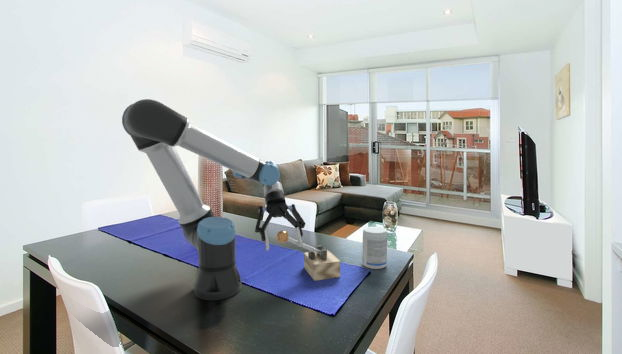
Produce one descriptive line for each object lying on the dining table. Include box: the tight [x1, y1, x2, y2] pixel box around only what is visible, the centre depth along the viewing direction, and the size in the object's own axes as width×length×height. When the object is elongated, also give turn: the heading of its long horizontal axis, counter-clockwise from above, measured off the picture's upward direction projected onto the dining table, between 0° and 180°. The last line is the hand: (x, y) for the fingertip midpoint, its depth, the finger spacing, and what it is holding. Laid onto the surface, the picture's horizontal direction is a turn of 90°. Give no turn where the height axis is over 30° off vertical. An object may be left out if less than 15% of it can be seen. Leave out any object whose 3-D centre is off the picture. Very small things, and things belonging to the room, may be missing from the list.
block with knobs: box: [303, 244, 341, 282], centre depth 117 cm, size 10×12×10 cm
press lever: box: [275, 230, 323, 256], centre depth 113 cm, size 4×4×20 cm
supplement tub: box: [362, 226, 388, 270], centre depth 123 cm, size 10×10×15 cm
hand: (284, 246), depth 107 cm, fingers open, 11 cm apart
